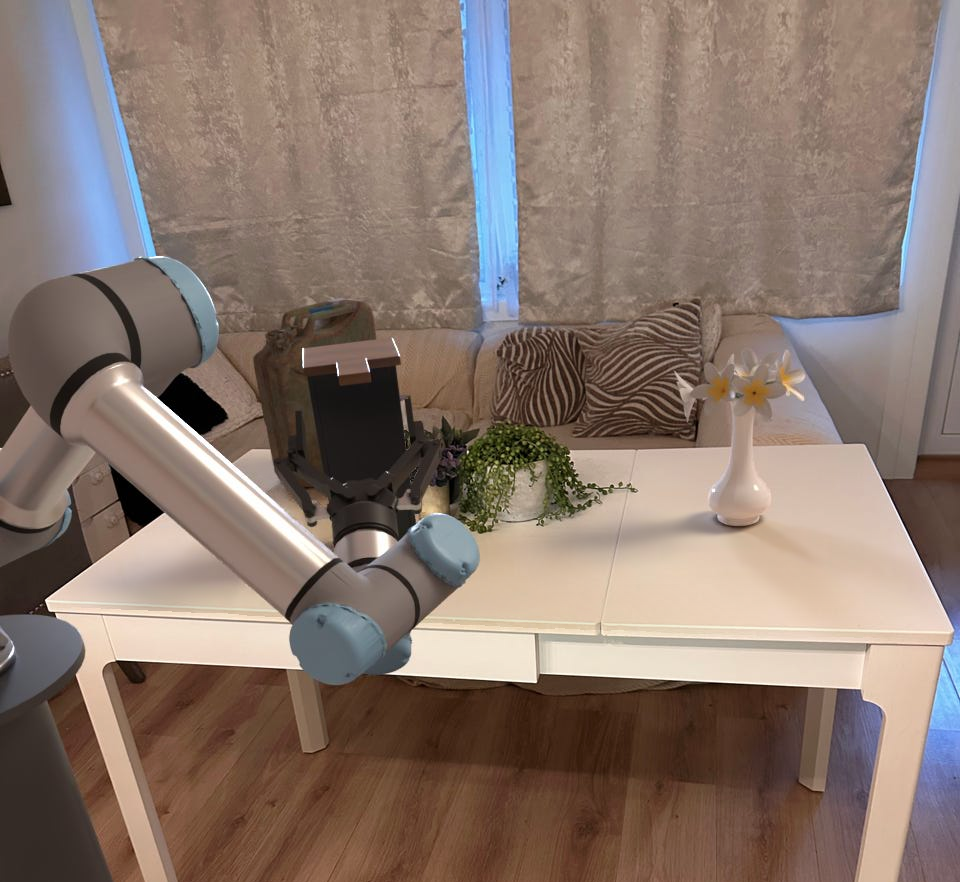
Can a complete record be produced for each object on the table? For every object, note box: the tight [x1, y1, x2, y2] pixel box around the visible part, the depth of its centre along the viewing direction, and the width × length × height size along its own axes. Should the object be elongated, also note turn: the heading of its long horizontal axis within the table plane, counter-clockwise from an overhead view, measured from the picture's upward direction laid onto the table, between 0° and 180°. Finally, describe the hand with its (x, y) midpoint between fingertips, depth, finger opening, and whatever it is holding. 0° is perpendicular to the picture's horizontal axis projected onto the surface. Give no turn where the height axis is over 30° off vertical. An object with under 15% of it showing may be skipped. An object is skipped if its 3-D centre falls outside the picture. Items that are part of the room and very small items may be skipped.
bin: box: [307, 365, 417, 541], centre depth 139 cm, size 12×12×29 cm
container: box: [252, 298, 378, 488], centre depth 175 cm, size 23×10×30 cm, turn 133°
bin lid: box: [303, 337, 402, 386], centre depth 129 cm, size 20×13×2 cm, turn 9°
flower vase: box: [673, 347, 806, 527], centre depth 138 cm, size 13×18×25 cm
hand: (354, 412), depth 119 cm, fingers open, 13 cm apart
